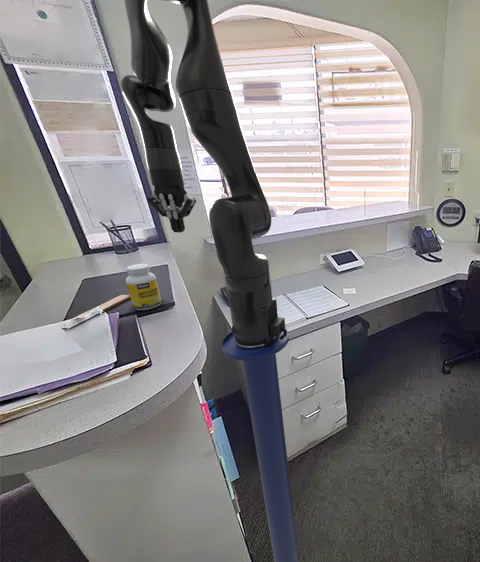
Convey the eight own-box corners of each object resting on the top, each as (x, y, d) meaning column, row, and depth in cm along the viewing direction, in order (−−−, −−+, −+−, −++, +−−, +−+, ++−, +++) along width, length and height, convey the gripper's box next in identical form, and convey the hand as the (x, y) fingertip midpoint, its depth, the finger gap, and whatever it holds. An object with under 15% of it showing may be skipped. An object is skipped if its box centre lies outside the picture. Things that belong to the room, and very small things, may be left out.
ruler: (131, 297, 90) (131, 295, 90) (69, 329, 74) (68, 326, 73) (122, 297, 90) (121, 294, 90) (58, 328, 74) (56, 325, 74)
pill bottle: (135, 313, 82) (123, 272, 77) (132, 305, 86) (120, 265, 82) (164, 306, 86) (154, 267, 81) (159, 298, 90) (150, 261, 86)
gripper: (198, 167, 84) (209, 230, 90) (152, 165, 85) (166, 228, 91) (178, 168, 77) (192, 236, 83) (129, 166, 78) (146, 233, 85)
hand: (178, 231), depth 87 cm, fingers closed
